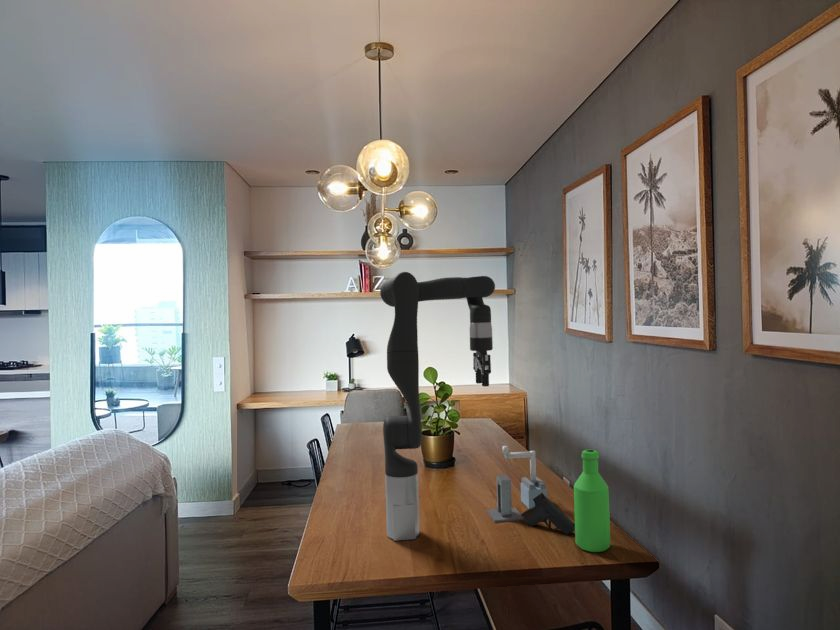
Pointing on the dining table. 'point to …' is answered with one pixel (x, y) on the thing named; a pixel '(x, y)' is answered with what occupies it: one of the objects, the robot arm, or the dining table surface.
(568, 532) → the handgun
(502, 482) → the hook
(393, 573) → the dining table surface
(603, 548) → the bottle
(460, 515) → the dining table surface
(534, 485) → the grey hanging stand
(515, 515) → the mat
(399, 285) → the robot arm
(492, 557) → the dining table surface
